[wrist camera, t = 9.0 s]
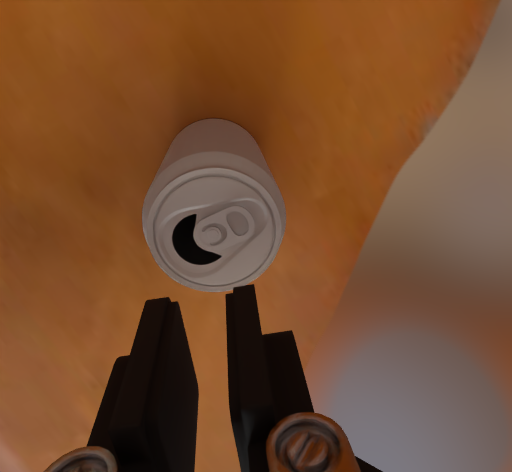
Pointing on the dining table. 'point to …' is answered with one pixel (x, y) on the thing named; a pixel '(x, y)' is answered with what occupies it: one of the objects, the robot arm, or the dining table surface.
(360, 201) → the dining table surface
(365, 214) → the dining table surface
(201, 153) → the beverage can
